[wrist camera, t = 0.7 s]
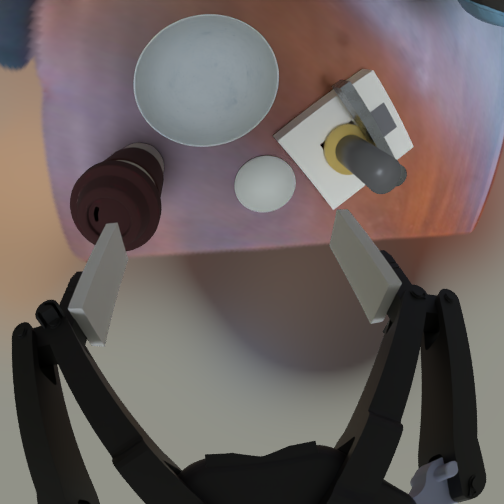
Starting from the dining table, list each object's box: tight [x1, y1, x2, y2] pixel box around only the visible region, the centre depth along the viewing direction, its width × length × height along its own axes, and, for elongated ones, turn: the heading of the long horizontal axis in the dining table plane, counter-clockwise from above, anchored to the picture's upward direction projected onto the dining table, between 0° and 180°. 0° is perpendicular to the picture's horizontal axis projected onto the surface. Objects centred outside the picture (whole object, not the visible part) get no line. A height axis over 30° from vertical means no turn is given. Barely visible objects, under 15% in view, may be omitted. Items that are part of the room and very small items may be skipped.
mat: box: [234, 155, 296, 212], centre depth 40 cm, size 9×9×1 cm
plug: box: [324, 124, 401, 194], centre depth 32 cm, size 7×7×13 cm
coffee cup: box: [70, 143, 164, 251], centre depth 30 cm, size 10×10×15 cm
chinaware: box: [133, 14, 279, 147], centre depth 27 cm, size 15×15×8 cm
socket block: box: [273, 69, 413, 210], centre depth 35 cm, size 17×14×4 cm
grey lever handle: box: [331, 80, 407, 186], centre depth 31 cm, size 17×3×2 cm, turn 41°
